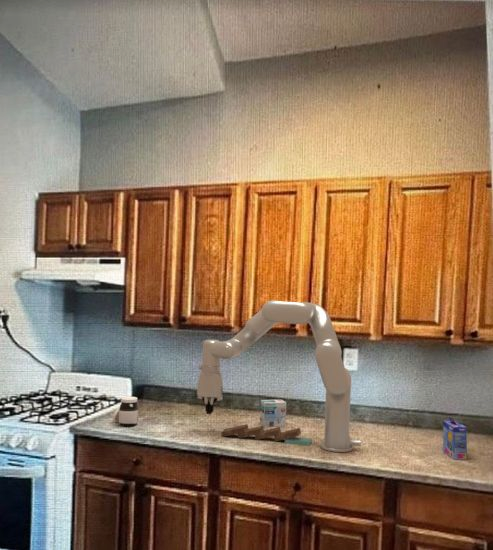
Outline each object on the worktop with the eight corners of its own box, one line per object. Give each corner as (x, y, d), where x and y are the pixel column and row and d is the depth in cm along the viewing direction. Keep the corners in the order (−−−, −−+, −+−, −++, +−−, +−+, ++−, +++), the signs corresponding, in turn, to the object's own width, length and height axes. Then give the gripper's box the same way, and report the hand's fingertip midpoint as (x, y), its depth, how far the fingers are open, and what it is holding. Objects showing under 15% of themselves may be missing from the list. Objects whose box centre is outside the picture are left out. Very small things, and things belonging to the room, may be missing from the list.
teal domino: (287, 441, 211) (311, 443, 208) (284, 444, 206) (309, 447, 203) (287, 436, 211) (311, 438, 208) (284, 439, 206) (309, 442, 203)
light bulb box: (263, 427, 229) (264, 402, 230) (259, 423, 236) (260, 399, 236) (286, 426, 232) (287, 402, 232) (281, 422, 239) (282, 399, 239)
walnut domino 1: (226, 433, 216) (248, 428, 214) (222, 436, 212) (245, 432, 209) (225, 428, 217) (247, 424, 214) (221, 432, 212) (244, 427, 209)
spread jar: (134, 428, 221) (135, 400, 221) (108, 427, 221) (109, 399, 221) (140, 421, 233) (141, 395, 233) (115, 420, 233) (116, 394, 233)
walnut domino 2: (241, 435, 215) (264, 430, 213) (238, 438, 210) (262, 433, 208) (240, 430, 215) (262, 425, 213) (237, 433, 210) (260, 428, 208)
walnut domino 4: (277, 438, 212) (301, 432, 210) (275, 441, 207) (299, 435, 205) (276, 433, 212) (299, 427, 210) (274, 436, 207) (297, 431, 205)
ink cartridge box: (441, 451, 201) (442, 414, 202) (455, 451, 202) (456, 414, 202) (452, 459, 192) (453, 420, 192) (467, 460, 192) (468, 420, 192)
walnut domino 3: (257, 436, 214) (281, 431, 212) (255, 440, 209) (279, 435, 207) (256, 432, 214) (279, 427, 212) (254, 435, 209) (278, 430, 207)
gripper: (191, 369, 215) (189, 413, 214) (225, 371, 211) (224, 417, 211) (196, 367, 222) (195, 410, 221) (230, 369, 219) (228, 413, 218)
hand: (209, 413), depth 216 cm, fingers closed
